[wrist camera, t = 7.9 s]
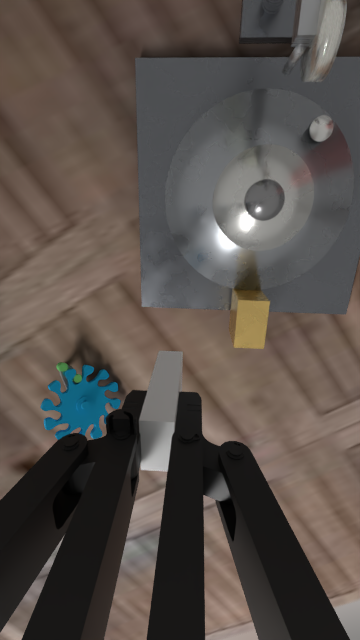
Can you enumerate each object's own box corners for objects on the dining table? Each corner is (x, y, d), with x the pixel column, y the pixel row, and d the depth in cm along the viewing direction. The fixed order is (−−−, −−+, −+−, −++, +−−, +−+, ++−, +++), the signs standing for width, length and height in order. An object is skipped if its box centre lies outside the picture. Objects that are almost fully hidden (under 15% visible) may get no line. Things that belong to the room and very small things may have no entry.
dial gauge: (232, 135, 29) (263, 63, 15) (244, -30, 25) (302, -339, 11) (282, 135, 29) (361, 63, 15) (303, -31, 25) (439, -348, 11)
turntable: (166, 324, 35) (160, 344, 30) (167, 95, 27) (159, 67, 22) (317, 330, 34) (339, 352, 29) (364, 96, 26) (406, 66, 21)
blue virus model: (132, 418, 40) (63, 464, 35) (115, 409, 45) (51, 449, 39) (103, 345, 38) (24, 381, 33) (88, 344, 43) (17, 376, 37)
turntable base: (143, 303, 36) (141, 307, 35) (137, 64, 28) (134, 56, 27) (341, 311, 35) (346, 314, 34) (396, 63, 27) (407, 55, 25)
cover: (207, 239, 30) (207, 246, 24) (218, 151, 27) (221, 136, 21) (285, 248, 30) (303, 257, 24) (305, 159, 27) (331, 146, 21)
